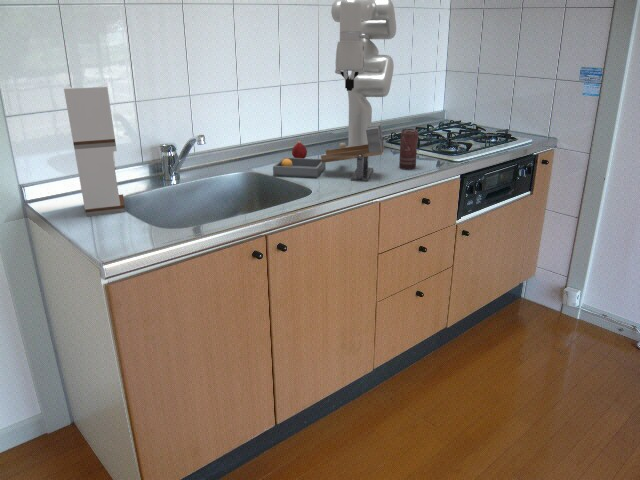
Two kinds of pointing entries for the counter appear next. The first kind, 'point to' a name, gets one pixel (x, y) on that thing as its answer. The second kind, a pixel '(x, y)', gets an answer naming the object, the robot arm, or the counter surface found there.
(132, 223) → the counter surface
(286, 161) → the ball
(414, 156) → the can
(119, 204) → the grey pillar
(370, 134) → the chute
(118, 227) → the counter surface
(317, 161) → the tray
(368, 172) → the chute stand
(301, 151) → the onion
